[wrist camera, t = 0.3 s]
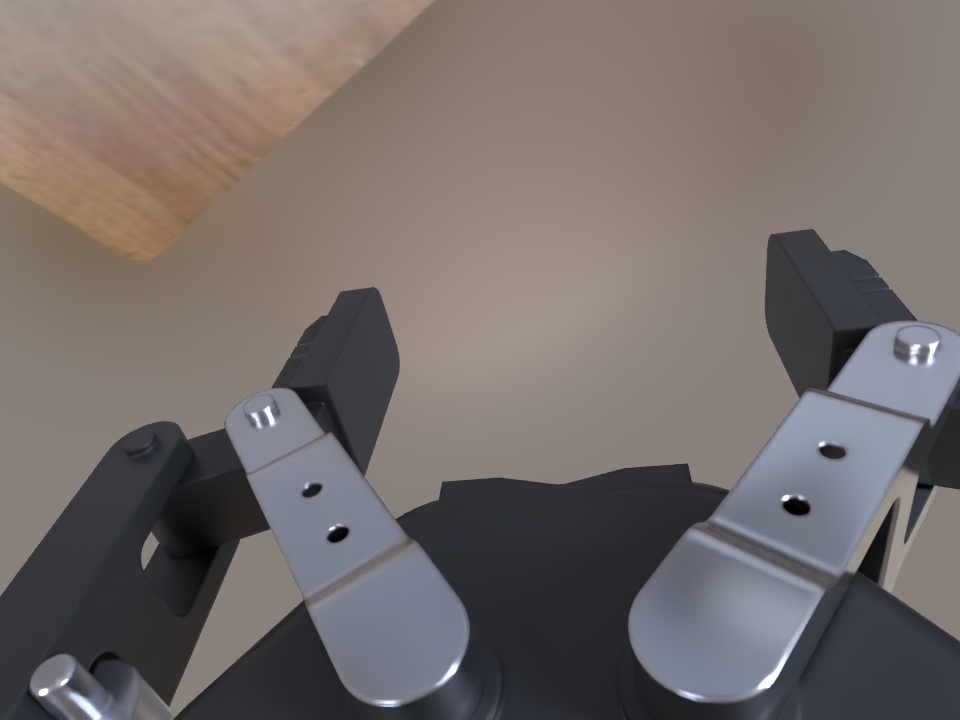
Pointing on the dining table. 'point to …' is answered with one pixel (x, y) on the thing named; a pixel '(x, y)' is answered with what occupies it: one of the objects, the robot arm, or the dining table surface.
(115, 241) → the dining table surface
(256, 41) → the dining table surface
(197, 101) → the dining table surface
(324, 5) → the dining table surface
